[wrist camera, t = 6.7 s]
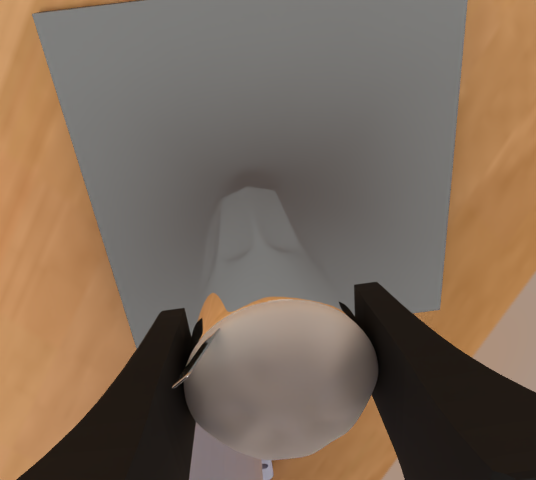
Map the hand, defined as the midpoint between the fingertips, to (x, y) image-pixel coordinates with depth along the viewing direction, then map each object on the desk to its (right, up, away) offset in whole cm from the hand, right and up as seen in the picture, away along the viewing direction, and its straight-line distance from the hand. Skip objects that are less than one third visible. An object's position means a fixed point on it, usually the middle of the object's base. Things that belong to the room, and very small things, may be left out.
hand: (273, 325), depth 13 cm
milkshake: (-1, +3, +5) cm, 6 cm away
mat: (0, +5, +9) cm, 10 cm away
